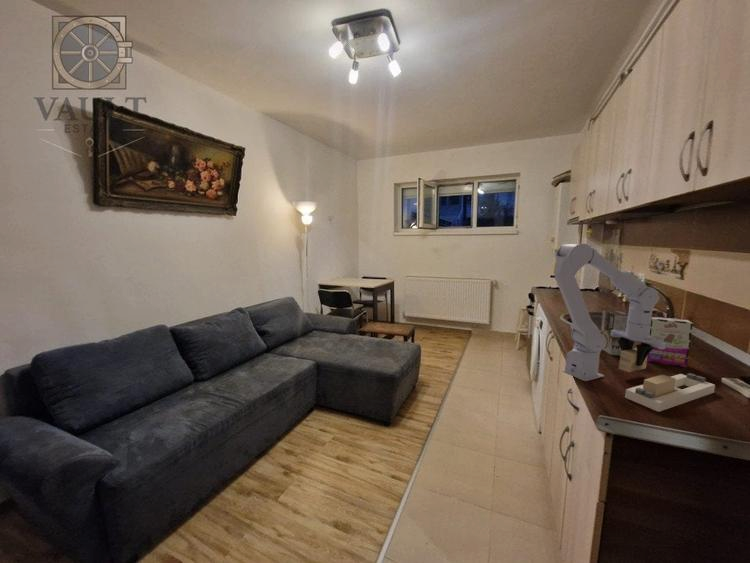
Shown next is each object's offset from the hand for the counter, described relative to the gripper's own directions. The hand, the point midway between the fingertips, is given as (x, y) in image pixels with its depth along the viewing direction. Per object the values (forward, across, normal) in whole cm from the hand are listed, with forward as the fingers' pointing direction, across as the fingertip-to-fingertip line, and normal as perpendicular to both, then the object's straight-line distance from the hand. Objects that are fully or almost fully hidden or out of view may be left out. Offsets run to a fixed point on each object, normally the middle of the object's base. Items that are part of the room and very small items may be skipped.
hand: (632, 363), depth 103 cm
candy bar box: (+5, +3, -25) cm, 26 cm away
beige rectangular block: (+2, 0, 0) cm, 2 cm away
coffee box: (+5, +17, -19) cm, 26 cm away
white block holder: (+5, -12, +3) cm, 13 cm away
